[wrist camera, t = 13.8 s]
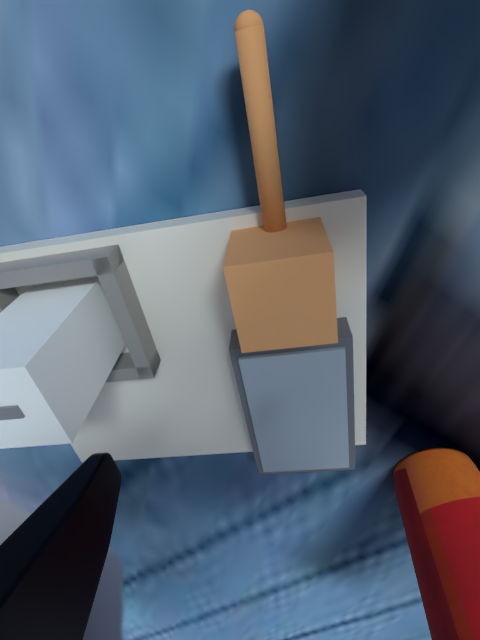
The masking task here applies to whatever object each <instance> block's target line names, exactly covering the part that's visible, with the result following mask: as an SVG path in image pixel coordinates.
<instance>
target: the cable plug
mask: <svg viewBox="0 0 480 640" xmlns="http://www.w3.org/2000/svg"><path fill="white" fill-rule="evenodd" d="M234 31H235V39H236V45H237V52H238V59H239V65H240V72H241V79H242V86H243V92H244V99H245V106H246V113H247V119H248V126H249V133H250V140H251V146H252V153H253V160H254V166H255V173H256V180H257V187H258V193H259V200H260V207H261V214H262V220H263V226H258V227H251V228H245V229H238V230H232V231H231V235H230V239H229V243H228V247H227V252H226V256H225V260H224V264H223V271H224V275H225V280H226V284H227V289H228V293H229V298H230V302H231V307H232V312H233V316H234V321H235V325H236V330H237V334H238V339H239V343H240V348H241V352H242V353H248V352H257V351H267V350H276V349H286V348H295V347H305V346H314V345H324V344H333V343H338V330H337V309H336V289H335V268H334V251H333V249H332V246H331V244H330V241H329V238H328V236H327V233H326V231H325V228H324V225H323V223H322V220H321V218H320V217H316V218H310V219H303V220H297V221H290V222H286V215H285V207H284V198H283V189H282V180H281V172H280V163H279V154H278V146H277V137H276V128H275V119H274V111H273V102H272V93H271V85H270V76H269V67H268V58H267V50H266V41H265V32H264V24H263V21H262V18H261V17H260V15H259V14H258V13H257V12H255V11H253V10H245V11H243V12H242V13H241V14H240V15H239V16H238V17H237V19H236V22H235V27H234Z"/></svg>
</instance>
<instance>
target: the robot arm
mask: <svg viewBox="0 0 480 640" xmlns="http://www.w3.org/2000/svg"><path fill="white" fill-rule="evenodd" d="M120 486H121V473H120V470H119V469H118V467H117V465H116V463H115V461H114V459H113V458H112V456H111V454H109V453H107V452H105V453H94V454H92V455H91V456H89V457H88V458H87V459H86V460H85V461H84V462H83V463H82V464H81V465H80V466H79V467H78V468H77V469H76V470H75V471H74V472H73V473H72V474H71V475H70V476H69V477H68V478H67V479H66V480H65V481H64V482H63V483H62V484H61V485H60V486H59V487H58V488H57V489H56V490H55V491H54V492H53V493H52V494H51V495H50V496H49V497H48V498H47V499H46V500H45V501H44V502H43V503H42V504H41V505H40V506H39V507H38V508H37V509H36V510H35V511H34V512H33V513H32V514H31V515H30V516H29V517H28V518H27V519H26V520H25V521H24V522H23V523H22V524H21V525H20V526H19V527H18V528H17V529H16V530H15V531H14V532H13V533H12V534H11V535H10V536H9V537H8V538H7V539H6V540H5V541H4V542H3V543H2V544H1V545H0V640H83V637H84V633H85V630H86V626H87V622H88V619H89V615H90V612H91V608H92V605H93V601H94V598H95V594H96V591H97V587H98V584H99V580H100V577H101V573H102V570H103V566H104V563H105V559H106V556H107V552H108V548H109V544H110V540H111V535H112V530H113V524H114V519H115V513H116V508H117V502H118V497H119V491H120Z"/></svg>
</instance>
